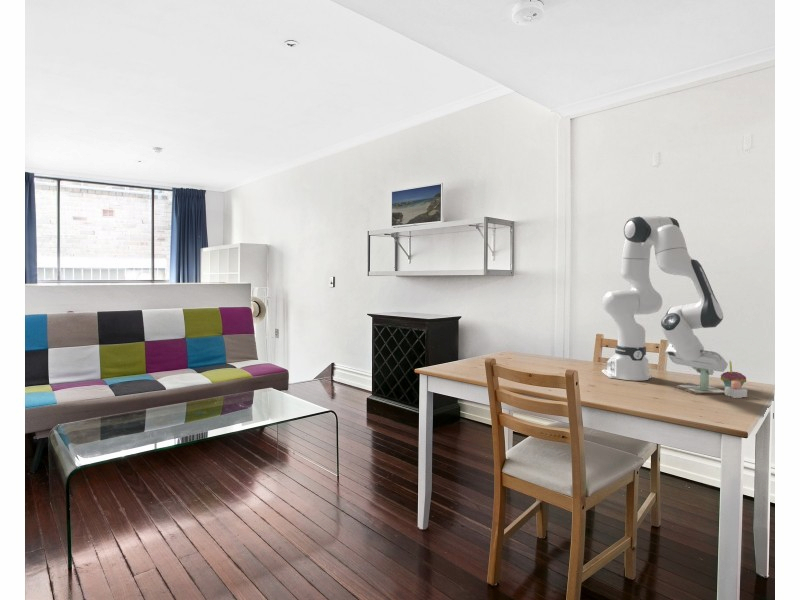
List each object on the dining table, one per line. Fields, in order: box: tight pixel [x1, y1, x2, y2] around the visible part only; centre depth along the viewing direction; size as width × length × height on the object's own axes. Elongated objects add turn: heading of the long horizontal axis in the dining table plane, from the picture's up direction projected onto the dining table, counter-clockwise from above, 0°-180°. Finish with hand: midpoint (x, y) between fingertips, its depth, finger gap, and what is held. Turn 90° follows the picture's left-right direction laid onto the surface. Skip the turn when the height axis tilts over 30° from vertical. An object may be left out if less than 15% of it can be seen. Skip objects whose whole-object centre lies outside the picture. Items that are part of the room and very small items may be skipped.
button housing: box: [723, 386, 748, 399], centre depth 183 cm, size 5×5×3 cm
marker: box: [699, 368, 710, 390], centre depth 188 cm, size 3×3×12 cm
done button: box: [731, 381, 742, 389], centre depth 183 cm, size 3×3×4 cm
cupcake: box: [720, 360, 747, 388], centre depth 194 cm, size 9×8×12 cm
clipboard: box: [674, 382, 725, 395], centre depth 193 cm, size 15×14×1 cm
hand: (705, 372), depth 188 cm, fingers closed on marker, 3 cm apart
